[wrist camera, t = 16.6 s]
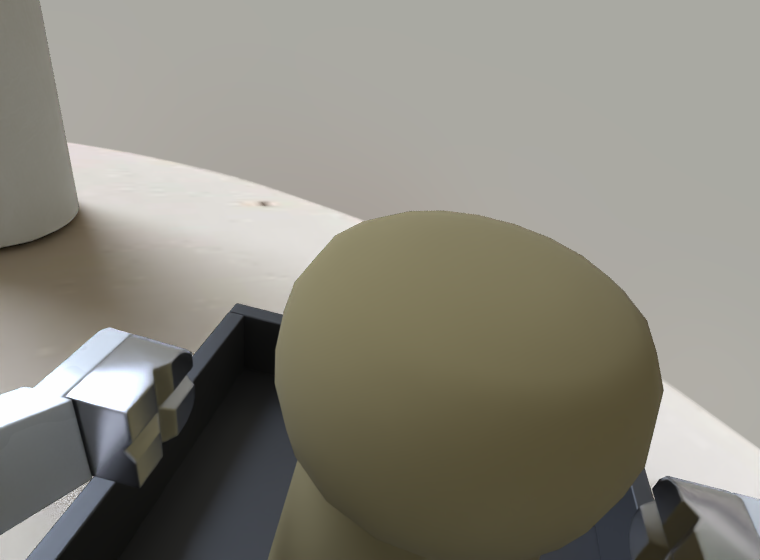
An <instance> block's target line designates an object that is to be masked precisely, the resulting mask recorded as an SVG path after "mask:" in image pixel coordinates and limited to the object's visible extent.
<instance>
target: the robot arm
mask: <svg viewBox="0 0 760 560" xmlns="http://www.w3.org/2000/svg"><path fill="white" fill-rule="evenodd" d="M192 367H193V360H192V352H190V351H188V350H187V349H184V348H180V347H177V346H173V345H170V344H167V343H163V342H160V341H156V340H153V339H149V338H146V337H143V336H139V335H136V334H135V335H134V334H131V333H127V332H124V331H120V330H117V329H113V328H110V327H109V328H106V329H103V330H100V331H99V332H97V333H96V334H95V335H94V336H93V337H92V338H90V339H89V340H88V341H87V342H86V343H85V344H84V345H82V346H81V347H80V348H79V349H78V350H77V351H75V352H74V353H73V354H72V355H71V356H70V357H69V358H67V359H66V360H65V361H64V362H63V363H62V364H60V365H59V366H58V367H57V368H56V369H55V370H54V371H52V372H51V373H50V374H49V375H48V376H47V377H46V378H44V379H43V380H42V381H41V382H40V383H39V384H37V385H36V386H35V387H34V388H29V387H25V386H24V387H21V388H19V389H16V390H13V391H10V392H7V393H4V394H2V395H0V535H1V534H3V533H4V532H6V531H8V530H9V529H11V528H12V527H14V526H16V525H17V524H19V523H21V522H22V521H24V520H26V519H27V518H29V517H30V516H32V515H34V514H35V513H37V512H39V511H40V510H42V509H44V508H45V507H47V506H48V505H50V504H52V503H53V502H55V501H57V500H58V499H60V498H62V497H63V496H65V495H67V494H68V493H70V492H71V491H73V490H75V489H76V488H78V487H80V486H81V485H83V484H85V483H86V482H88V481H89V480H91V479H92V476H95V477H99V478H102V479H106V480H110V481H114V482H118V483H122V484H125V485H129V486H133V487H137V488H141V486H142V485H143V484H144V482H145V481H146V479H147V478H148V477H149V475H150V474H151V472H152V471H153V470H154V468H155V467H156V465H157V464H158V463H159V461H160V460H161V458H162V457H163V447H162V443H164V442H166V441H168V440H170V439H172V438H174V437H176V436H178V434H179V433H180V431H181V430H182V428H183V427H184V426H185V424H186V423H187V420H188V418H189V415H190V413H191V411H192V408H193V404H194V398H195V385H194V383H193V382H192V381H191V379H190V378H189V377H188V375H187V374H188V372H189V371H190V370H191V369H192ZM652 490H653V494H654V497H655V500H654V501H651V502H648V503H645V504H643V505H640V506H639V508H638V509H637V511H636V513H635V514H634V516H633V517H632V520H631V525H630V530H629V550H630V555H631V559H632V560H760V499H756V498H753V497H749V496H745V495H741V494H737V493H731V492H729V491H726V490H722V489H718V488H714V487H710V486H706V485H702V484H698V483H694V482H690V481H686V480H682V479H678V478H674V477H670V476H666V477H664V478H662V479H659V481H658V482H657V483H656V485H655V486H654V487H653V488H652Z"/></svg>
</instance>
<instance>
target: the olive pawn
mask: <svg viewBox="0 0 760 560" xmlns="http://www.w3.org/2000/svg"><path fill="white" fill-rule="evenodd" d="M275 386H276V390H277V394H278V398H279V402H280V406H281V410H282V415H283V419H284V423H285V427H286V430H287V433H288V437H289V440H290V443H291V446H292V449H293V452H294V455H295V457H296V459H297V463H296V467H295V470H294V473H293V477H292V480H291V483H290V487H289V490H288V493H287V497H286V500H285V503H284V507H283V510H282V513H281V517H280V520H279V523H278V527H277V530H276V533H275V537H274V540H273V543H272V547H271V550H270V553H269V557H268V560H539V559H540V556H541V555H543V554H546V553H549V552H552V551H555V550H558V549H560V548H562V547H564V546H565V545H567V544H569V543H570V542H572V541H574V540H575V539H577V538H579V537H580V536H582V535H584V534H585V533H587V532H588V531H589V530H590V529H591V528H592V527H593V526H594V525H595V524H596V523H597V522H598V521H599V520H600V519H601V518H602V517H603V516H604V515H605V514H606V513H607V512H608V511H609V510H610V509H611V508H612V507H614V506H615V505H616V504H617V503H618V502H619V501H620V500H621V499H622V498H623V497H624V495H625V494H626V492H627V491H628V490H629V488H630V487H631V486H632V484H633V483H634V481H635V480H636V479H637V477H638V476H639V474H640V473H641V472H642V470H643V469H644V468H645V464H646V460H647V456H648V452H649V448H650V444H651V440H652V436H653V432H654V428H655V424H656V420H657V415H658V411H659V407H660V403H661V399H662V395H663V391H664V390H663V384H662V379H661V374H660V368H659V363H658V357H657V352H656V349H655V345H654V342H653V339H652V336H651V333H650V329H649V326H648V322H647V320H646V319H645V317H643V315H642V314H641V312H640V311H639V310H638V308H637V307H636V306H635V305H634V303H633V302H632V301H631V300H630V298H629V297H628V296H627V294H626V293H625V292H624V291H623V290H622V289H621V288H620V287H619V286H618V285H617V284H616V283H615V282H614V281H613V280H612V279H611V278H610V277H608V276H607V275H606V274H605V273H603V272H602V271H601V270H600V269H598V268H597V267H596V266H594V265H593V264H592V263H591V262H590V261H588V260H587V259H586V258H584V257H583V256H582V255H580V254H578V253H576V252H575V251H573V250H571V249H569V248H567V247H566V246H564V245H562V244H560V243H558V242H556V241H555V240H553V239H551V238H548V237H546V236H544V235H541V234H538V233H536V232H533V231H531V230H528V229H525V228H523V227H521V226H518V225H515V224H512V223H508V222H504V221H500V220H496V219H492V218H488V217H484V216H480V215H474V214H466V213H458V212H450V211H409V212H404V213H399V214H395V215H390V216H385V217H380V218H376V219H372V220H368V221H363V222H361V223H359V224H357V225H355V226H353V227H351V228H349V229H347V230H345V231H343V232H341V233H339V234H337V235H335V236H334V238H333V239H332V240H331V241H330V242H329V243H328V244H327V245H326V247H325V248H324V249H323V250H322V251H321V252H320V253H319V254H318V256H317V257H316V258H315V259H314V260H313V261H312V263H311V264H310V265H309V266H308V267H307V268H306V270H305V271H304V272H303V273H302V274H301V275H300V277H299V278H298V279H297V280H296V281H295V283H294V285H293V288H292V291H291V293H290V296H289V299H288V302H287V304H286V307H285V310H284V312H283V317H282V322H281V326H280V331H279V335H278V340H277V345H276V349H275Z"/></svg>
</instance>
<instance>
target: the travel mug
mask: <svg viewBox="0 0 760 560" xmlns="http://www.w3.org/2000/svg"><path fill="white" fill-rule="evenodd" d="M78 210H79V204H78V198H77V193H76V188H75V183H74V178H73V172H72V167H71V162H70V157H69V152H68V146H67V141H66V136H65V131H64V126H63V120H62V115H61V110H60V105H59V100H58V94H57V89H56V84H55V79H54V73H53V68H52V63H51V58H50V54H49V48H48V42H47V37H46V32H45V27H44V22H43V16H42V11H41V6H40V1H39V0H0V248H3V247H8V246H12V245H17V244H22V243H26V242H30V241H33V240H36V239H38V238H41V237H43V236H45V235H47V234H50V233H52V232H54V231H56V230H58V229H60V228H62V227H63V226H65V225H66V224H68V223H69V222H70V221H71V220H72V219H73V218H74V217H75V216H76V215H77V213H78Z"/></svg>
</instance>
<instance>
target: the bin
mask: <svg viewBox="0 0 760 560" xmlns="http://www.w3.org/2000/svg"><path fill="white" fill-rule="evenodd" d="M282 317H283V315H282V314H278V313H274V312H270V311H266V310H262V309H258V308H254V307H250V306H246V305H242V304H238V303H237V304H235V306H234V307H233V308H232V309H231V311H230V312H229V313H228V314H227V315H226V316H225V317H224V319H223V320H222V321H221V322H220V324H219V325H218V326H217V327H216V328H215V330H214V331H213V332H212V333H211V335H210V336H209V337H208V338H207V339H206V341H205V342H204V343H203V344H202V345H201V347H200V348H199V349H198V350H197V352H196V353H195V354H194V355H193V356H192V360H193V367H192V369H191V370H190V371H189V372H188V374H187V375H188V377H189V378H190V379H191V381H192V382H193V383H194V385H195V398H194V404H193V408H192V411H191V413H190V415H189V418H188V420H187V423H186V424H185V426H184V427H183V428H182V430H181V431H180V433H179V434H178V436H176V437H174V438H172V439H170V440H168V441H166V442H164V443H162V447H163V457H162V458H161V460H160V461H159V463H158V464H157V465H156V467H155V468H154V470H153V471H152V472H151V474H150V475H149V477H148V478H147V479H146V481H145V482H144V484H143V485H142V486H141V488H137V487H133V486H129V485H125V484H122V483H118V482H114V481H110V480H106V479H102V478H99V477H95V476H94V477H93V478H92V479H91V481H90V482H89V483H88V484H87V486H86V487H85V488H84V489H83V490H82V492H81V493H80V494H79V495H78V497H77V498H76V499H75V500H74V501H73V503H72V504H71V505H70V506H69V508H68V509H67V510H66V511H65V512H64V514H63V515H62V516H61V517H60V518H59V520H58V521H57V522H56V523H55V525H54V526H53V527H52V528H51V529H50V531H49V532H48V533H47V534H46V536H45V537H44V538H43V539H42V540H41V542H40V543H39V544H38V545H37V546H36V548H35V549H34V550H33V551H32V553H31V554H30V555H29V556H28V557H27V559H26V560H268V557H269V553H270V550H271V547H272V543H273V540H274V537H275V533H276V530H277V527H278V523H279V520H280V517H281V513H282V510H283V507H284V503H285V500H286V497H287V493H288V490H289V487H290V483H291V480H292V477H293V473H294V470H295V467H296V463H297V459H296V457H295V455H294V452H293V449H292V446H291V443H290V440H289V437H288V433H287V430H286V427H285V423H284V419H283V415H282V410H281V406H280V402H279V398H278V394H277V390H276V386H275V349H276V345H277V340H278V335H279V331H280V326H281V322H282ZM651 501H654V498H653V495H652V492H651V488H650V485H649V481H648V478H647V475H646V471H645V468H644V469H643V470H642V472H641V473H640V474H639V476H638V477H637V479H636V480H635V481H634V483H633V484H632V486H631V487H630V488H629V490H628V491H627V492H626V494H625V495H624V497H623V498H622V499H621V500H620V501H619V502H618V503H617V504H616V505H615V506H614V507H612V508H611V509H610V510H609V511H608V512H607V513H606V514H605V515H604V516H603V517H602V518H601V519H600V520H599V521H598V522H597V523H596V524H595V525H594V526H593V527H592V528H591V529H590V530H589V531H588V532H587V533H585V534H584V535H582V536H580V537H579V538H577V539H575V540H574V541H572V542H570V543H569V544H567V545H565V546H564V547H562V548H560V549H558V550H555V551H552V552H549V553H546V554H543V555H541V556H540V559H539V560H632V559H631V555H630V550H629V530H630V525H631V520H632V517H633V516H634V514H635V513H636V511H637V509H638V508H639V506H640V505H643V504H645V503H648V502H651Z"/></svg>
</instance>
